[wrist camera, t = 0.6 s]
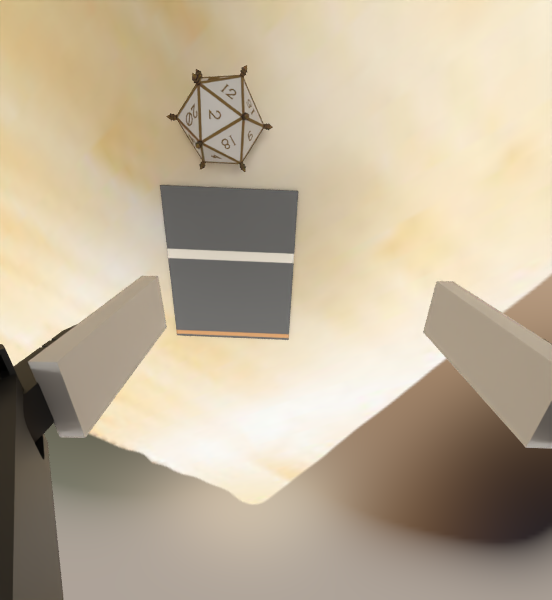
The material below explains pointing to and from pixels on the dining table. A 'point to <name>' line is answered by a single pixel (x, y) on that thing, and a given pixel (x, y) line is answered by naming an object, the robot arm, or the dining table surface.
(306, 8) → the dining table surface
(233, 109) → the game die
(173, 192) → the lane mat
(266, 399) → the dining table surface
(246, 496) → the dining table surface
